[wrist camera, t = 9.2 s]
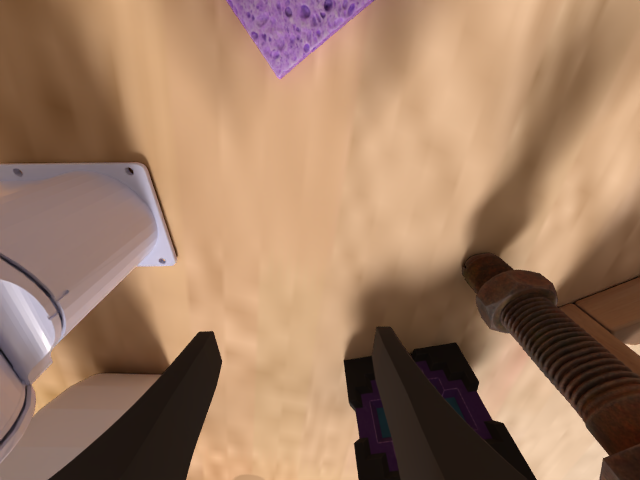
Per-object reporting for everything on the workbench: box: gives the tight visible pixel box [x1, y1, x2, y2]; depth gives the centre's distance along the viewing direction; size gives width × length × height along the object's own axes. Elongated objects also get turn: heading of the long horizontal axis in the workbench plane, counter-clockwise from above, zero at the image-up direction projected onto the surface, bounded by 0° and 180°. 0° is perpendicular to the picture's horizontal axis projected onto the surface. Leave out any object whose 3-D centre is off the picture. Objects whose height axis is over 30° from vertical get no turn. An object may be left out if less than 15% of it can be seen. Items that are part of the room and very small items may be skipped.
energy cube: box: [344, 343, 537, 480], centre depth 25 cm, size 12×12×12 cm
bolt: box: [462, 253, 640, 480], centre depth 16 cm, size 6×5×15 cm
